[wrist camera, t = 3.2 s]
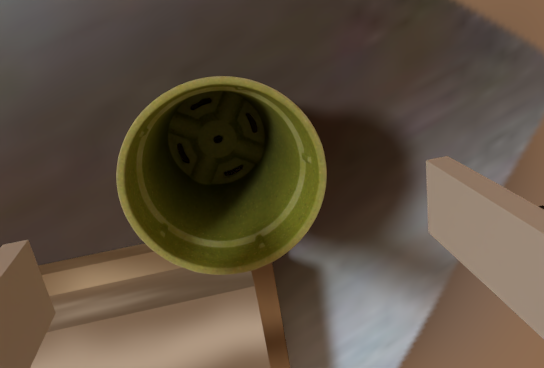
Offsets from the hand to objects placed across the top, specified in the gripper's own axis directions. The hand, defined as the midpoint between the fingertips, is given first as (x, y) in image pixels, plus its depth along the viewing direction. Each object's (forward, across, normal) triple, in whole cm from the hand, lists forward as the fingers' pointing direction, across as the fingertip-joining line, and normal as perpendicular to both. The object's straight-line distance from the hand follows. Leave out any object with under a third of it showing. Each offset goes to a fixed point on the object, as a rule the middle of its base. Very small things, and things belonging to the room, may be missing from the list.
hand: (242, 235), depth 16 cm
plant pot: (+15, 0, 0) cm, 15 cm away
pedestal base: (+14, +6, +14) cm, 21 cm away
